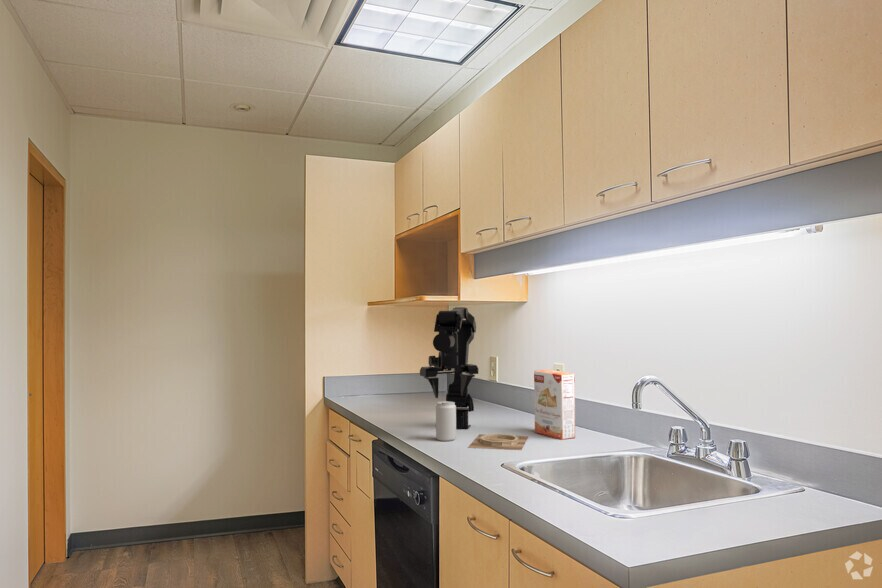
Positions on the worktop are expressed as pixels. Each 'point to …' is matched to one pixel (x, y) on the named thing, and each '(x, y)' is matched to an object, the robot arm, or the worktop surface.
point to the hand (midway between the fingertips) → (449, 397)
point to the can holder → (499, 441)
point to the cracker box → (554, 403)
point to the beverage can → (445, 421)
